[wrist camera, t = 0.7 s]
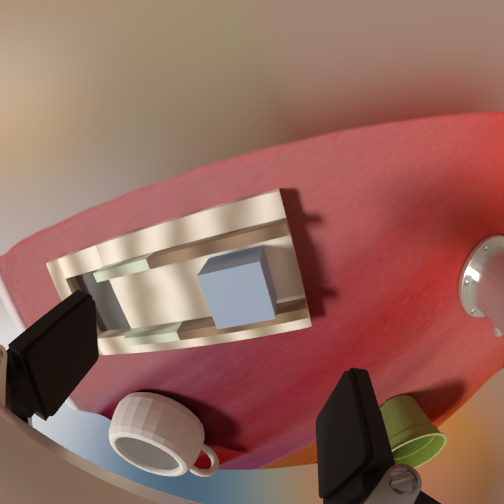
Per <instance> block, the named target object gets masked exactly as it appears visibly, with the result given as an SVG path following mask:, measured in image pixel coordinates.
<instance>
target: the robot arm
mask: <svg viewBox="0 0 504 504" xmlns="http://www.w3.org/2000/svg"><path fill="white" fill-rule="evenodd" d="M458 294H459V301H460V303H461V306H462V307H463V309H464V310H465V311H466V312H467V313H468V314H469V315H471V316H473V317H477V318H479V317H485V316H486V317H487V318H488V319H489V320H490V321H491V322H492V323H493V324H494V325H493V327H494V335H495V336H497V337H500V336H502V335H503V334H504V236H502V235H491V236H489V237H487V238H485V239H484V240H482V241H481V242H480V243H479V244H478V245H477V246H476V247H475V248H474V249H473V251H472V252H471V253H470V255H469V257H468V258H467V260H466V262H465V264H464V267H463V269H462V272H461V276H460V280H459V289H458ZM98 357H99V349H98V338H97V325H96V305H95V301H94V300H93V298H92V295H90V294H88V293H85V292H83V291H81V290H77V291H75V292H74V293H72V294H71V295H70V296H68V297H67V298H66V299H64V300H63V301H62V302H61V303H59V304H58V305H57V306H55V307H54V308H53V309H51V310H50V311H49V312H48V313H46V314H45V315H44V316H43V317H41V318H40V319H39V320H38V321H36V322H35V323H34V324H33V325H31V326H30V327H29V328H28V329H27V330H25V331H24V332H23V333H22V334H21V335H19V336H18V337H17V338H16V339H15V340H13V341H12V342H11V343H10V344H9V349H8V350H7V351H6V350H5V348H4V347H3V346H2V345H0V504H202V503H198V502H194V501H190V500H187V499H183V498H179V497H176V496H173V495H170V494H167V493H164V492H160V491H158V490H155V489H152V488H149V487H147V486H144V485H141V484H139V483H136V482H133V481H131V480H129V479H126V478H124V477H121V476H119V475H117V474H115V473H113V472H110V471H108V470H106V469H103V468H101V467H100V466H98V465H96V464H94V463H92V462H90V461H88V460H86V459H84V458H82V457H80V456H78V455H77V454H75V453H73V452H71V451H69V450H68V449H66V448H64V447H63V446H61V445H59V444H57V443H56V442H54V441H53V440H51V439H50V438H48V437H47V436H45V435H43V434H42V433H40V432H39V431H37V430H36V429H34V428H33V427H32V416H33V414H34V413H35V414H36V415H38V416H39V417H41V418H42V419H43V420H45V421H46V420H47V418H48V417H49V416H53V415H54V414H55V413H56V412H57V411H58V409H59V408H60V406H61V405H62V404H63V403H64V402H65V400H66V399H67V398H68V396H69V395H70V394H71V393H72V391H73V390H74V389H75V388H76V386H77V385H78V384H79V383H80V381H81V380H82V379H83V378H84V376H85V375H86V374H87V373H88V371H89V370H90V369H91V368H92V366H93V365H94V364H95V363H96V361H97V360H98ZM316 439H317V457H318V480H319V497H320V498H323V504H441V503H439V502H437V501H436V500H434V499H433V498H431V497H430V496H428V495H427V494H425V493H424V492H422V491H421V486H422V480H421V477H420V475H419V473H418V472H417V471H416V470H415V469H414V468H413V467H411V466H409V465H406V464H397V465H395V462H394V458H393V454H392V450H391V446H390V442H389V438H388V435H387V431H386V427H385V424H384V420H383V417H382V413H381V410H380V408H379V406H378V403H377V400H376V396H375V393H374V390H373V386H372V383H371V380H370V377H369V374H368V371H367V370H365V369H358V368H351V369H350V370H349V371H345V372H344V373H343V375H342V377H341V379H340V380H339V382H338V384H337V385H336V387H335V389H334V391H333V392H332V394H331V396H330V397H329V399H328V400H327V402H326V404H325V405H324V407H323V409H322V410H321V412H320V413H319V415H318V417H317V419H316Z"/></svg>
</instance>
